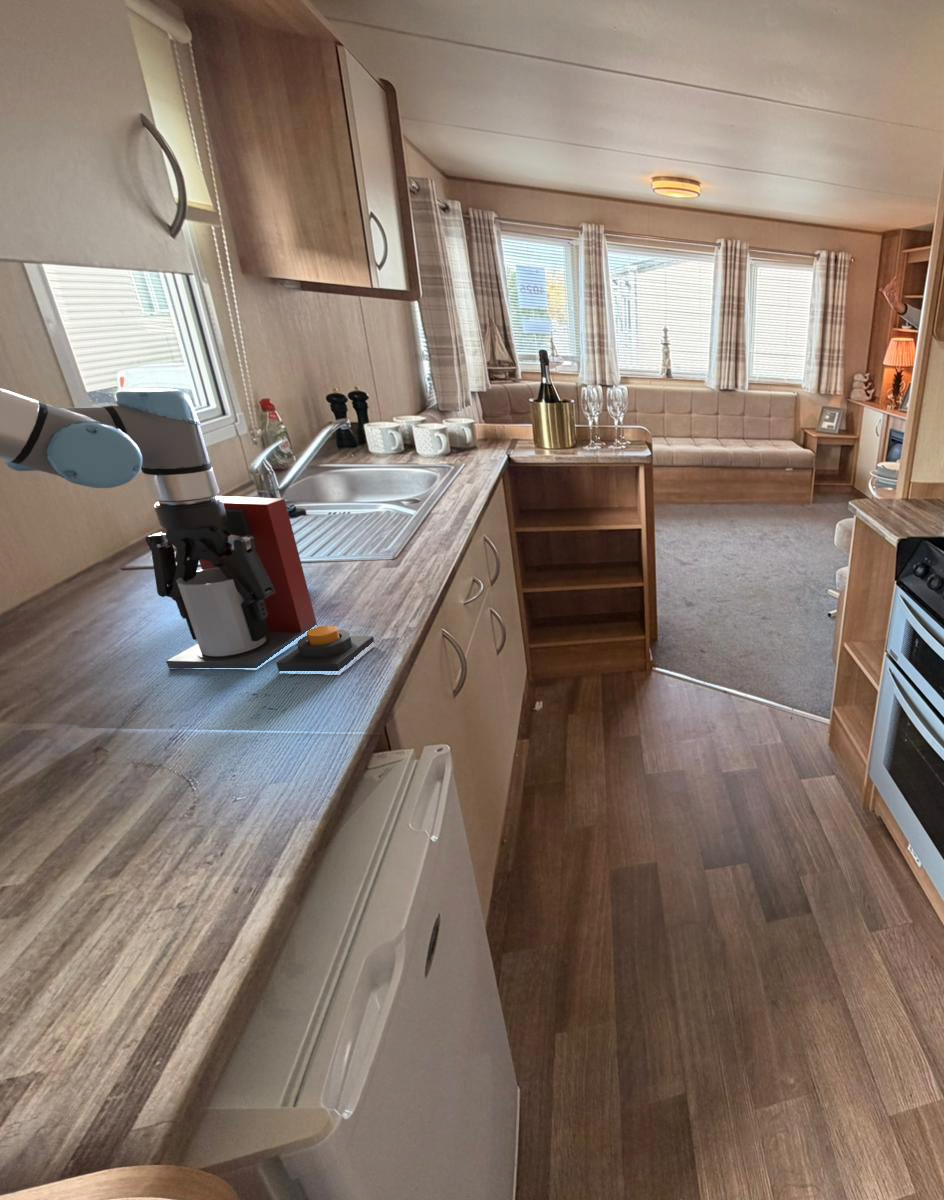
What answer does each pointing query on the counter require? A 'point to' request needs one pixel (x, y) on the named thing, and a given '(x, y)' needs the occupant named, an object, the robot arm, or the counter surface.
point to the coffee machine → (284, 570)
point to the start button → (323, 635)
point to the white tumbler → (216, 614)
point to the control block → (324, 654)
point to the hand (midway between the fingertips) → (231, 636)
